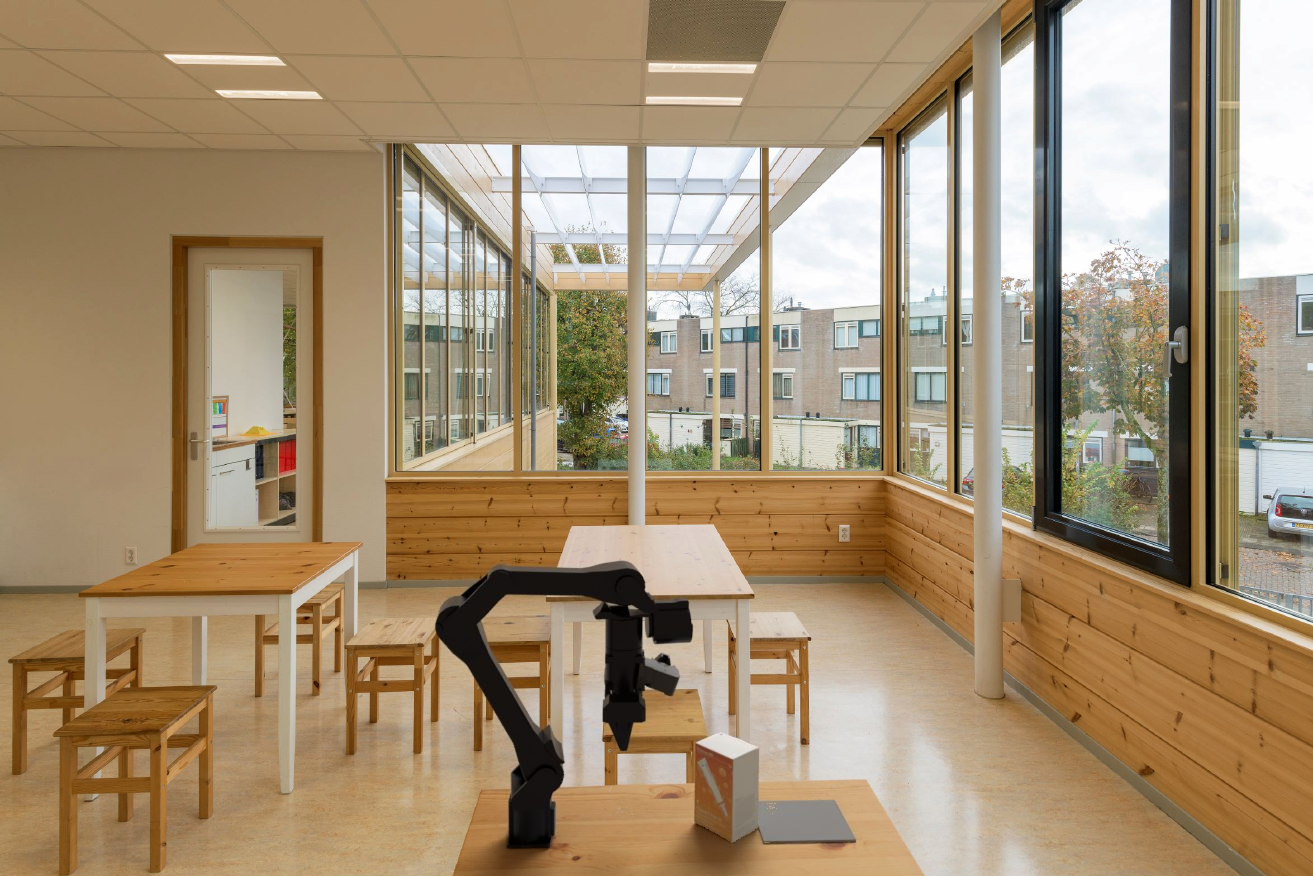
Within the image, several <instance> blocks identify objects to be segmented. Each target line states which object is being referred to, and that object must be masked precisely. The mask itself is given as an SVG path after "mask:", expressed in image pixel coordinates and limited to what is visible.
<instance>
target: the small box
mask: <svg viewBox="0 0 1313 876" xmlns="http://www.w3.org/2000/svg"><path fill="white" fill-rule="evenodd" d="M694 747H695V749H694V750H695V751H694V752H695V754H694V811H693V812H694V813H693V815H694V816H693V817H694V820H693V822H694V823H695V824H696V823H697V824H696V825H699V826H701V827H702V826H703V828H704V827H705V828H704V829H707V830H708V829H709V830H708V831H710V832H712V831H713V832H712V833H714V832H715V833H716V835H717V834H718V835H717V836H719V835H720V836H719V837H721V836H722V837H721V838H722V839H724V838H725V840H726V841H728V842H729V841H730V842H729V843H731V844H733V842H734V843H736V842H737V841H739V840H740V839H742V838H744V837H746V836H747V835H749V834H750V832H751V833H753V832H754V831H756V830H758V829H759V827H758V801H759V795H760V794H759V787H760V786H759V785H760V783H759V782H760V781H759V780H760V775H759V774H760V747H758V746H757V745H754V744H752V743H749V742H747V741H745V740H743V739H741V738H738V737H735V736H732V735H730V734H727V733H724V732H723V731H720V732H717V733H715V734H713V735H709V736H708V737H705V738H703V739H700V740H698V741H696V742H695V745H694ZM757 828H758V829H757ZM755 829H756V830H755ZM753 830H754V831H753ZM752 831H753V832H752ZM715 833H714V834H715ZM748 833H749V834H748ZM746 834H747V835H746ZM745 835H746V836H745ZM743 836H744V837H743ZM741 837H742V838H741ZM738 839H739V840H738ZM736 840H737V841H736Z"/></svg>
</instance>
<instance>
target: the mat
mask: <svg viewBox="0 0 1313 876" xmlns="http://www.w3.org/2000/svg"><path fill="white" fill-rule="evenodd" d="M767 803H768V804H767ZM769 803H773V804H769ZM774 803H776V804H774ZM773 805H774V806H773ZM769 806H772V807H775V808H773V809H772V807H770V808H771V809H770V808H769ZM767 808H768V809H767ZM776 808H777V809H776ZM772 813H773V814H772ZM758 826H759V827H758V829H760V830H759V833H760V832H761V833H760V836H761V835H762V837H761V839H763V840H762V842H779V843H778V844H782V843H781V842H784V843H785V844H787V843H789V844H790V843H793V844H795V843H798V844H799V843H839V842H840V843H844V842H847V843H849V842H850V843H851V842H857V838H856V836H855V835H854V833H853V830H852V829H851V827H850V826H849V824H848V822H847V819H846V818H845V816H844V815H843V813H842V811H841V809H840V807H839V805H838V804H837V801H836V800H835V799H809V800H808V799H806V800H804V799H803V800H801V799H800V800H798V799H797V800H758ZM784 843H783V844H784Z"/></svg>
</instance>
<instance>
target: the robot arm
mask: <svg viewBox="0 0 1313 876" xmlns="http://www.w3.org/2000/svg"><path fill="white" fill-rule="evenodd" d="M510 595H511V596H550V597H551V596H552V597H553V596H554V597H555V596H556V597H563V596H564V597H584V598H585V597H586V598H590V599H592V600H593V599H594V600H596V601H599V602H600V603H599V605H596V607H595V608H593V610H592V615H593V616H594V619H595V620H596V621H597V620H598V621H600V620H602V621H603V620H605V628H604V630H605V632H604V633H605V635H604V636H605V641H604V646H605V649H604V650H605V651H604V671H603V672H604V673H603V674H604V675H603V677H604V678H603V679H604V680H603V682H604V699H603V700H602V715H601V716H602V717H601V718H602V721H601V722H602V723H605V724H608V727H609V728H610V730H611V733H612V734H613V738H614V739H615V742H616V744H617V747H618V749H619V751H620V752H627V751H628V748H629V745H630V741H631V735H632V731H633V727H634V724H635V723H637V724H638V723H639V724H640V723H641V724H642V723H644V722H646V721H647V720H646V719H647V717H646V715H647V712H646V711H647V707H646V699H645V698H644V697H643V694H644V693H643V692H645V691H646V688H648V689H650V690H655V691H657V692H660V693H663V694H664V695H665V696H668V697H674V695H675V691H676V689H677V685H678V683H679V681H680V678H681V675H680V670H679V669H678V667H676V665H675V664H673V665H672V663H671V662H672V661H671V656H670V654H667V653H664V652H660V653H659V654H658V655H657V656H656V657H655V658H654V657H651V658H648V657H646V656H645V649H643V647H644V646H643V644H644V643H643V642H644V641H643V640H644V636H643V634H644V633H645V636H646V638H647V639H650V638H652V639H651V640H652V643H653V645H667V644H670V645H671V644H689V643H692V641H693V637H694V636H693V635H694V623H693V622H692V614H691V611H690V601H689V600H688V599H687V598H686V597H677V598H673V599H669V598H668V599H654V597H653V596H652V594H651V593H650V592H649V591H648V592H647V591H646V580H645V578H644V576H643V574H642V573H641V572H640V570H638V568H637V567H636V566H635V565H634V564H633V563H631V562H629V561H627V560H615V561H609V562H602V563H598V564H595V565H592V566H586V567H561V566H560V567H557V566H556V567H555V566H524V565H523V566H519V565H518V566H516V565H515V566H514V565H506V564H503V563H502V564H496V565H494V566H492V567H491V568H490V570H489V571H488V572H487V573H486V574H485V575H484V576H482V577H480V578H479V580H477V581H476V582H475V583H473V584H472V585H470V586H469V587H468V588H467V589H465V591H464V592H462V593H461V594H460V595H454V596H450V597H448V598H447V599H445V600H444V601H443V603H442V604H441V605H440V607H439V610H438V613H437V616H436V620H435V624H434V628H435V629H434V630H435V631H434V632H435V634H436V636H437V637H438V639H439V640H440V641H441V642H442V643H443V645H445V647H446V648H447V649H448V650H449V651H450V653H451V654H453V655H454V656H455V657H456V658H457V659H458V660H460V661H461V662H462V663H463V664H464V665H465V666H466V667H467V668H468V670H469V672H470V673H471V675H472V676H473V678H474V680H475V681H476V683H477V686H479V688H480V690H481V691H482V693H483V696H484V697H485V699H486V700H487V702H488V704H489V706H490V707H491V708H492V710H493V712H494V714H495V717H497V719H498V721H499V722H500V723H501V726H502V728H503V729H504V731H505V732H506V734H507V735H508V737H509V739H510V741H511V743H512V745H513V748H514V750H515V751H514V752H515V754H516V758H517V761H518V764H517V765H516V766H515V768H514V769H513V770H512V771H511V772H510V794H509V797H508V805H507V806H508V808H507V809H508V813H507V814H508V815H507V816H508V817H507V819H508V825H507V826H508V831H507V832H508V835H507V839H506V842H505V843H506V845H505V846H506V847H505V848H508V849H509V848H510V849H511V848H513V849H514V848H515V849H517V848H549V847H550V846H551V844H552V839H553V838H552V837H555V835H556V828H557V803H556V801H555V800H554V801H553V794H554V793H555V792H556V791H557V790H559V789H560V787H561V786H562V784H563V782H564V779H565V769H564V764H565V763H566V761H565V755H564V750H563V749H564V748H563V743H561V742H560V741H559V740H558V739H557V737H555V734H554V731H553V729H552V726H551V724H547V726H545V727H544V728H542V727H540V726H539V725H538V724H536V723H535V722H534V720H533V719H532V717H531V716H530V713H529V712H528V710H527V709H526V707H525V705H524V703H523V702H522V700H521V698H520V697H519V695H518V693H517V691H516V690H515V688H514V687H513V685H512V683H511V681H510V680H509V678H508V676H507V673H506V672H505V671H504V669H503V667H502V666H501V664H500V662H499V661H498V659H497V657H496V656H495V654H494V652H493V650H492V649H491V647H490V645H489V642H488V638H487V635H486V632H485V627H484V624H483V622H482V620H483V619H484V618H486V616H487V615H488V614H489V613H490V612H491V611H492V610H493V609H494V607H496V605H498V603H499V602H500V601H501V600H502V599H504V597H506V596H510ZM629 606H632V607H634V608H629ZM643 620H644V621H643ZM643 623H644V625H643ZM643 627H644V628H643ZM643 629H644V631H643ZM643 632H644V633H643Z"/></svg>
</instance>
